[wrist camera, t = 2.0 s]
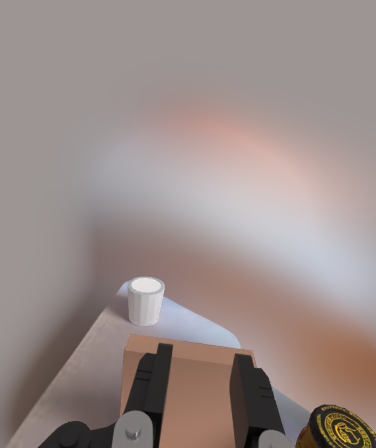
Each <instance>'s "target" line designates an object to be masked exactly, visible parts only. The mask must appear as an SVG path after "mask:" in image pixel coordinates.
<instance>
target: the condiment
mask: <svg viewBox="0 0 376 448" xmlns="http://www.w3.org/2000/svg"><path fill="white" fill-rule="evenodd" d="M295 448H376V434H375V433H374V432H373V431H372V429H371V428H370V427H369V426H368V425H367V424H366V423H365V422H364V421H362V420H361V419H360V418H359V417H358V416H356V415H355V414H353V413H352V412H350V411H348V410H346V409H345V408H341V407H338V406H335V405H321V406H319V407H317V408H315V409H314V411H313V412H312V413H311V416H310V418H309V422H308V424H307V426H306V427H304V428H303V430H302V431H301V433H300V435H299V437H298V439H297V442H296V446H295Z"/></svg>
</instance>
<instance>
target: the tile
mask: <svg viewBox="0 0 376 448" xmlns="http://www.w3.org/2000/svg"><path fill="white" fill-rule="evenodd" d="M159 343H166V344H173V352H172V360H171V368H170V376H169V383H168V390H167V397H166V404H165V410H164V417H163V424H162V431H161V438H160V444H159V448H236V447H235V438H234V429H233V420H232V411H231V402H230V393H229V383H230V376H231V371H232V365H233V360H234V356H235V353H238V354H245V355H251V357H252V360H253V364H254V368H257V366H256V362H255V358H254V354H253V351H251V350H244V349H236V348H229V347H222V346H214V345H207V344H200V343H192V342H185V341H178V340H170V339H163V338H156V337H148V336H141V335H134V334H130V336H129V339H128V342H127V344H126V347H125V349H124V359H123V375H122V391H121V407H120V417H121V416H122V414H123V412H124V410H125V407H126V404H127V400H128V397H129V394H130V390H131V387H132V384H133V380H134V377H135V374H136V371H137V367H138V364H139V360H140V359H141V358H142V357H143V356H144V355H145V353H153V354H156V353H157V348H158V344H159Z"/></svg>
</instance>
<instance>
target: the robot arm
mask: <svg viewBox="0 0 376 448" xmlns="http://www.w3.org/2000/svg"><path fill="white" fill-rule="evenodd" d="M172 352H173V344H166V343H159V344H158V348H157V353H156V354H153V353H145V355H144V356H143V357H142V358H141V359H140V360H139V364H138V367H137V371H136V374H135V377H134V380H133V384H132V387H131V390H130V394H129V397H128V400H127V404H126V407H125V410H124V412H123V414H122V416H121V417H120V418H119V419H118V420H117V421H116V422H115V423H114V424H112V425H110V426H108V427H105V428H101V429H96V430H91V431H90V430H89V428H88V426H87V425H86V424H84V423H82V422H79V421H72V422H68V423H65V424H63V425H61V426H60V427H59V428H57V429H56V430H55V431H54V432H53V433H52V434H51V435H50V436H49V437H48V438H47V439H46V440H45V441H44V442H43V443H42V444H41V445H40V446H39V447H38V448H159V444H160V438H161V431H162V424H163V417H164V410H165V404H166V397H167V390H168V383H169V376H170V368H171V360H172ZM229 393H230V402H231V411H232V420H233V429H234V438H235V447H236V448H295V446H294V444H293V443H292V442H291V440H290V439H289V438H288V437H287V436H286V435H285V432H284V429H283V425H282V422H281V418H280V415H279V412H278V408H277V405H276V401H275V399H274V394H273V391H272V388H271V384H270V381H269V378H268V376H267V375H266V374H265V372H264V371H263V370H262V369H261V368H254V364H253V360H252V357H251V355H245V354H238V353H235V356H234V360H233V365H232V371H231V376H230V383H229Z"/></svg>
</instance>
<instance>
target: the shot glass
mask: <svg viewBox="0 0 376 448" xmlns="http://www.w3.org/2000/svg"><path fill="white" fill-rule="evenodd" d="M164 288H165V285H164V283H163V282H162V281H160V280H159V279H157V278H153V277H137V278H134V279H132V280H131V281H130V282H128V308H129V319H130V322H132V323H133V324H134V325H137V326H150V325H153V324H155V323H156V322H157V320H158V318H159V313H160V308H161V303H162V298H163V293H164Z"/></svg>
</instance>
